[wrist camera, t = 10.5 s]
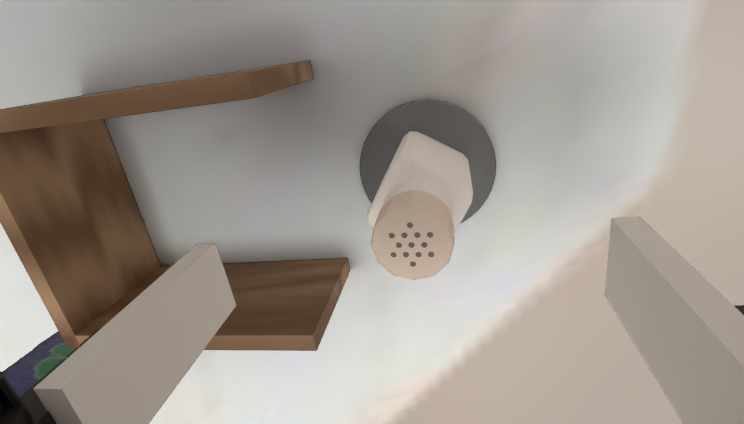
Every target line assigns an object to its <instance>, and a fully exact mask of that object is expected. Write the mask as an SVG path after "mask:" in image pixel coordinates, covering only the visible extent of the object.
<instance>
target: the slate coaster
mask: <svg viewBox="0 0 744 424" xmlns="http://www.w3.org/2000/svg"><path fill="white" fill-rule="evenodd" d="M410 131H415V132H420V133H422V134H424V135H426V136H428V137H430V138H432V139H434V140H436V141H438V142H440V143H442V144H444V145H446V146H448V147H450V148H452V149H455V150H457V151H459V152H461V153H463V154H464V155H465V157H466V158H467V159H468V162H469V168H470V175H471V182H472V188H473V197H472V203H471V205H470V207H469V209H468V210H467V212H466V214H465V216H464V218H463V219H462V221H461V223H462V222H464V221H465V220H467V219H468V218H470V217H471V216H472V215H473V214H475V213H476V212H477V211H478V210H479V209H480V207H481V206H482V205H483V204H484V202H485V201H486V199H487V198H488V196H489V194H490V192H491V189H492V186H493V183H494V179H495V173H496V161H495V154H494V150H493V146H492V144H491V141H490V139H489V137H488V135H487V133H486V131H485V130H484V128H483V127H482V126H481V124H480V123H479V122H478V121H477V120H476V119H475V118H474V117H473V116H472V115H470V114H469V113H468V112H466V111H465V110H463V109H461V108H459V107H457V106H455V105H452V104H450V103H446V102H442V101H435V100H421V101H415V102H410V103H407V104H404V105H401V106H399V107H397V108H395V109H393V110H392V111H390V112H389V113H387V114H386V115H385V116H384V117H383V118H382V119H380V120H379V122H378V123H377V124H376V125H375V126H374V127H373V129H372V130H371V132H370V133H369V135H368V136H367V139H366V141H365V143H364V146H363V149H362V152H361V158H360V176H361V181H362V185H363V187H364V190H365V192H366V194H367V196H368V198H369V200H370V201H371V203H372V202H373V200H374V198H375V196H376V193H377V191H378V189H379V187H380V185H381V182H382V180H383V178H384V176H385V174H386V172H387V170H388V168H389V166H390V164H391V162H392V160H393V158H394V155H395V153H396V151H397V149H398V147H399V145H400V143H401V141H402V139H403V137H404V136H405V135H406V134H407V133H408V132H410Z"/></svg>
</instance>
